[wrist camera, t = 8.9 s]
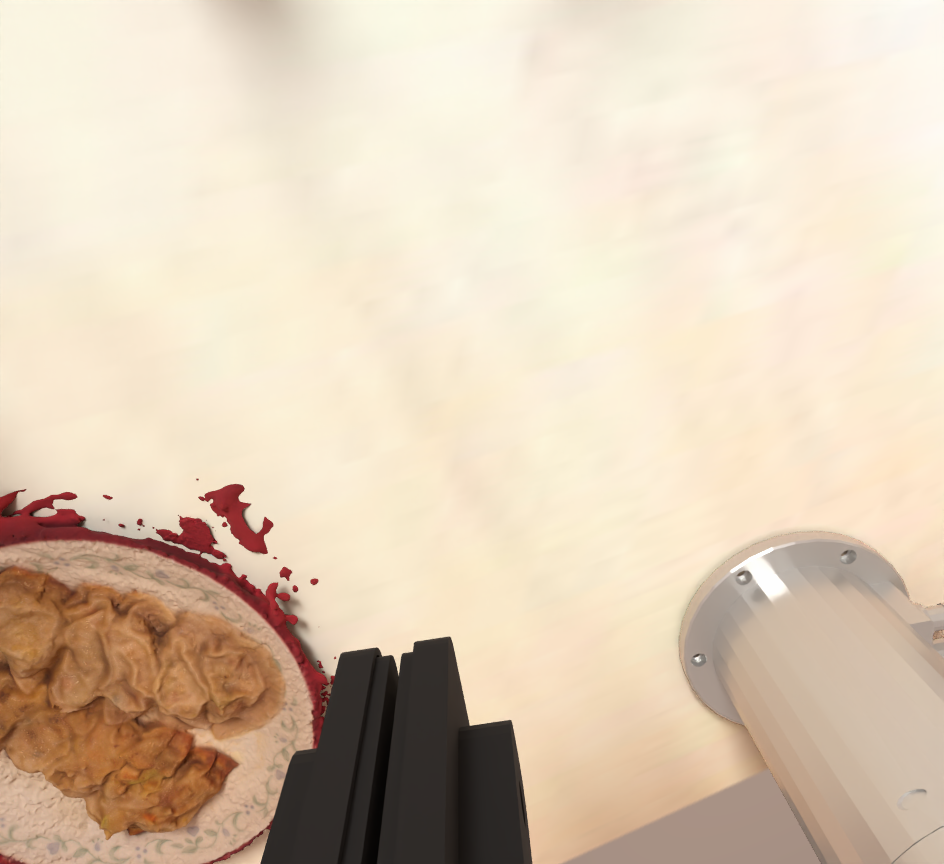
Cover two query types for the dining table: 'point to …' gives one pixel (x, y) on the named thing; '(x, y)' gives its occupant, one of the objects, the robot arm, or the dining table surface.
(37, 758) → the plate with food
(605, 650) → the dining table surface
